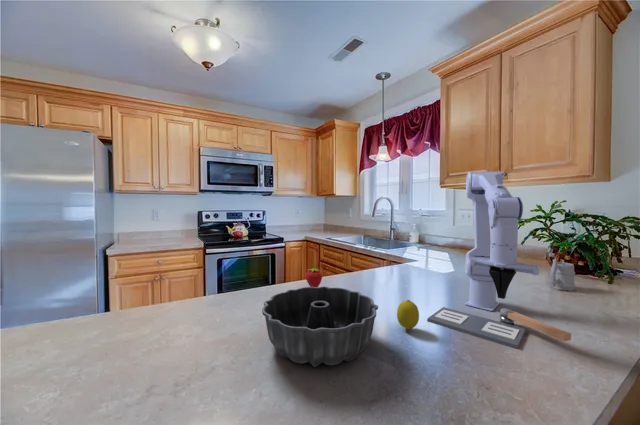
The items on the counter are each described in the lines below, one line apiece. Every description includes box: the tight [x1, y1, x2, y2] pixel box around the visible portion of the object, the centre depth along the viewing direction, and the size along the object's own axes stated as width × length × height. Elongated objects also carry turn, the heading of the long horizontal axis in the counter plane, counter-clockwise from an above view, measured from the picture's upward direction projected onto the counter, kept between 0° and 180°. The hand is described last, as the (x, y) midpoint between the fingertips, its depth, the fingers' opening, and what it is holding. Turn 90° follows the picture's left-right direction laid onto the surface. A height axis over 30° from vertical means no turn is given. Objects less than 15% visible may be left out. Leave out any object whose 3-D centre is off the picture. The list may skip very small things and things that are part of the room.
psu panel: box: [426, 307, 527, 350], centre depth 76 cm, size 12×21×1 cm, turn 46°
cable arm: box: [499, 307, 572, 342], centre depth 71 cm, size 16×3×2 cm, turn 18°
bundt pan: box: [261, 285, 379, 368], centre depth 65 cm, size 26×26×10 cm
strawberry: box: [305, 264, 323, 287], centre depth 105 cm, size 6×8×10 cm
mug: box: [549, 259, 576, 292], centre depth 111 cm, size 8×12×12 cm, turn 114°
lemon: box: [396, 299, 420, 331], centre depth 73 cm, size 6×6×8 cm
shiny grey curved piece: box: [499, 315, 515, 326], centre depth 78 cm, size 3×3×2 cm
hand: (501, 297), depth 71 cm, fingers closed
